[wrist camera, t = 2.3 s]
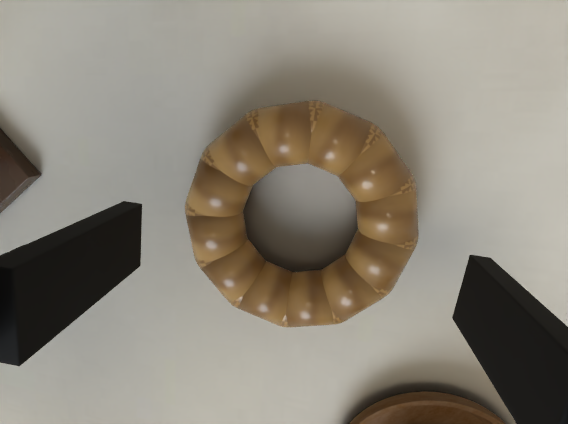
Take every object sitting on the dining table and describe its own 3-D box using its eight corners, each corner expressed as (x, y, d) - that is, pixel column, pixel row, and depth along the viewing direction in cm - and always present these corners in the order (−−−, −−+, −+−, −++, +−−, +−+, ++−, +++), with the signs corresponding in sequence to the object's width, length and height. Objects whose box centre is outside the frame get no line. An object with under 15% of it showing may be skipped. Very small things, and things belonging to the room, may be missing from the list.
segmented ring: (156, 191, 22) (131, 204, 19) (324, 53, 19) (324, 44, 16) (282, 342, 24) (277, 374, 21) (452, 236, 21) (473, 256, 18)
